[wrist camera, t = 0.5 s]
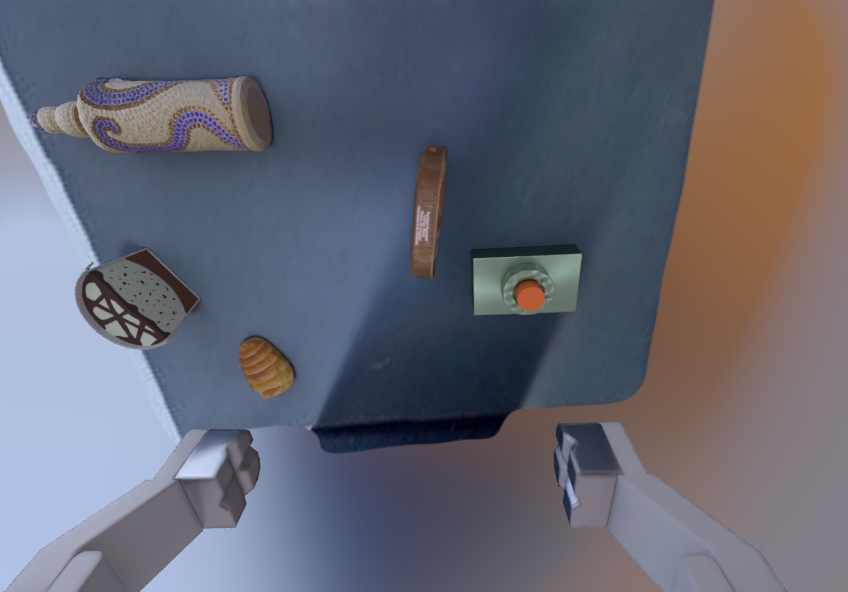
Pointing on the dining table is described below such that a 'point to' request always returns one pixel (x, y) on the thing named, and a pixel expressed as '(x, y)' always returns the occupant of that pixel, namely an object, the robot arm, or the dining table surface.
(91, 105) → the decorative bottle
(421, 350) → the dining table surface
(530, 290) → the button
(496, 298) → the console
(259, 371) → the pastry
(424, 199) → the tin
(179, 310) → the grey brown rounded block
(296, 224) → the dining table surface
